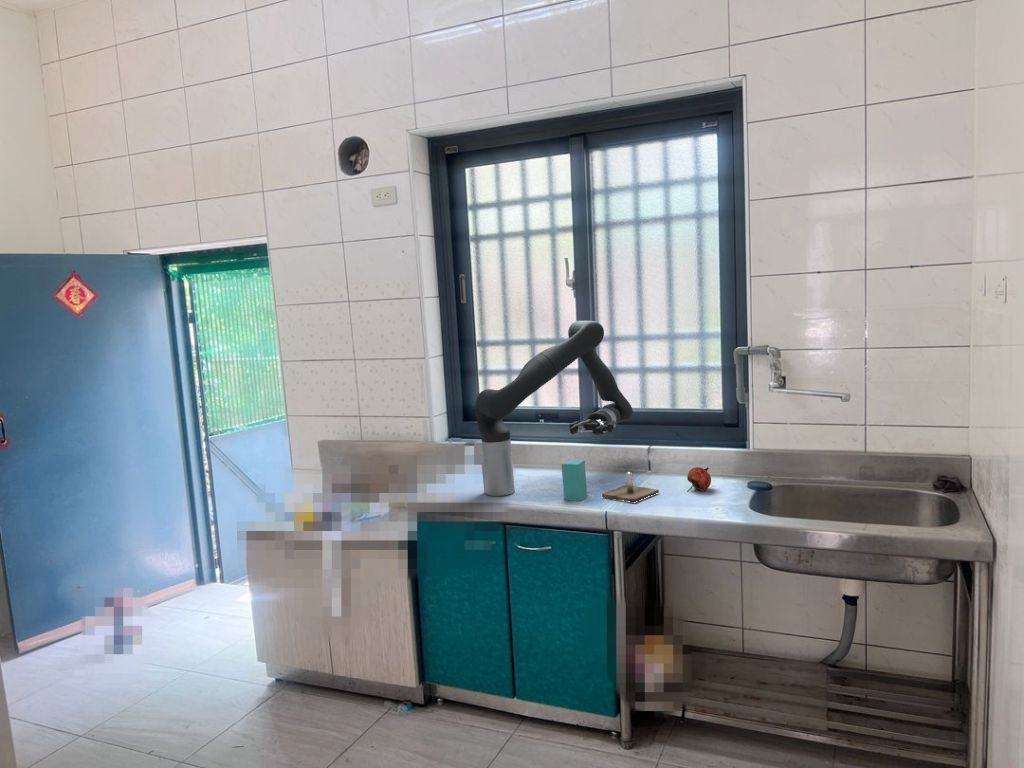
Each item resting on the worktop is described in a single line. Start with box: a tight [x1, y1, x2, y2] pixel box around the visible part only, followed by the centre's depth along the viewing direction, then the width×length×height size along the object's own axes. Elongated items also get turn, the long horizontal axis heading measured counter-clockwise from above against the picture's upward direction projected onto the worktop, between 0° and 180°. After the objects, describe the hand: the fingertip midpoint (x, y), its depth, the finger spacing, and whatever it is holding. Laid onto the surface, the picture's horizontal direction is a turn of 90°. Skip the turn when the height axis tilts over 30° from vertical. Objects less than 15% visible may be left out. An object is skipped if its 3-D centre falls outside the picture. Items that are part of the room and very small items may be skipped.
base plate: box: [601, 484, 660, 502], centre depth 218 cm, size 12×12×1 cm
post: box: [625, 471, 634, 493], centre depth 217 cm, size 2×2×6 cm
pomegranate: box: [686, 466, 712, 493], centre depth 217 cm, size 7×7×10 cm
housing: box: [561, 459, 588, 501], centre depth 220 cm, size 5×5×11 cm
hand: (584, 431), depth 228 cm, fingers open, 8 cm apart
